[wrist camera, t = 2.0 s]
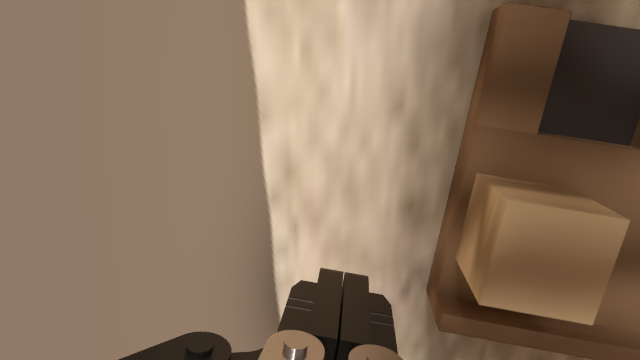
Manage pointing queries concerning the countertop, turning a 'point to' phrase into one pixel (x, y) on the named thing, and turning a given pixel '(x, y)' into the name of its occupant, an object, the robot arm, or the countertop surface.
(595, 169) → the box
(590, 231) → the maple block
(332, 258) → the countertop surface
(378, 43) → the countertop surface
